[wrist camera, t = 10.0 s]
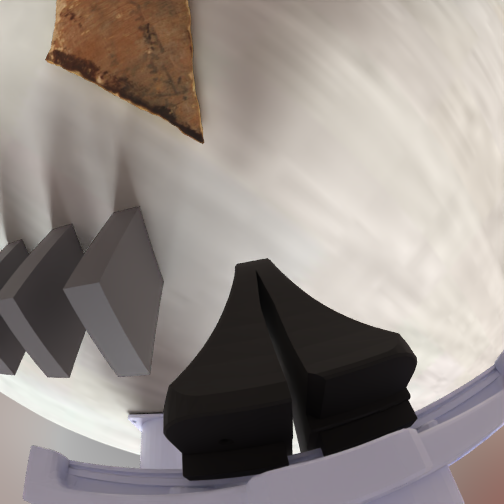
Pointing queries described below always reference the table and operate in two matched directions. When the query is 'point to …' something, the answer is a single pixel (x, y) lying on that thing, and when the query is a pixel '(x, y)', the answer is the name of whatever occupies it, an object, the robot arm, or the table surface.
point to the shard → (132, 54)
